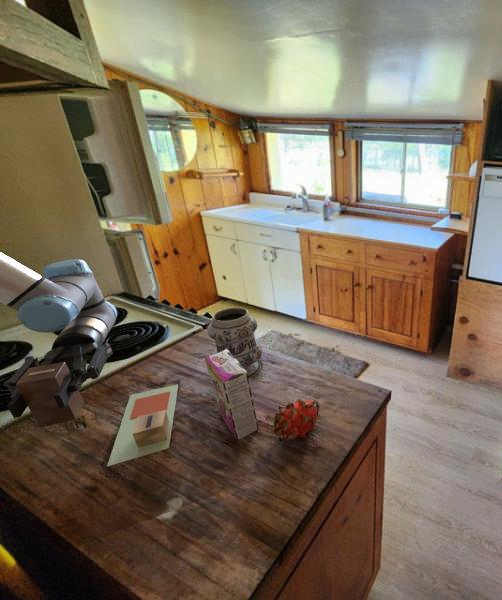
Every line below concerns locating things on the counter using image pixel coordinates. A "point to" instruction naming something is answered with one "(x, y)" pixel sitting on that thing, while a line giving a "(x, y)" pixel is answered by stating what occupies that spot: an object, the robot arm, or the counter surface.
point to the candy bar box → (232, 393)
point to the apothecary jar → (237, 337)
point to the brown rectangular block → (48, 394)
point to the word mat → (136, 407)
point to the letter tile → (151, 428)
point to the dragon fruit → (296, 419)
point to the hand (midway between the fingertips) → (37, 406)
